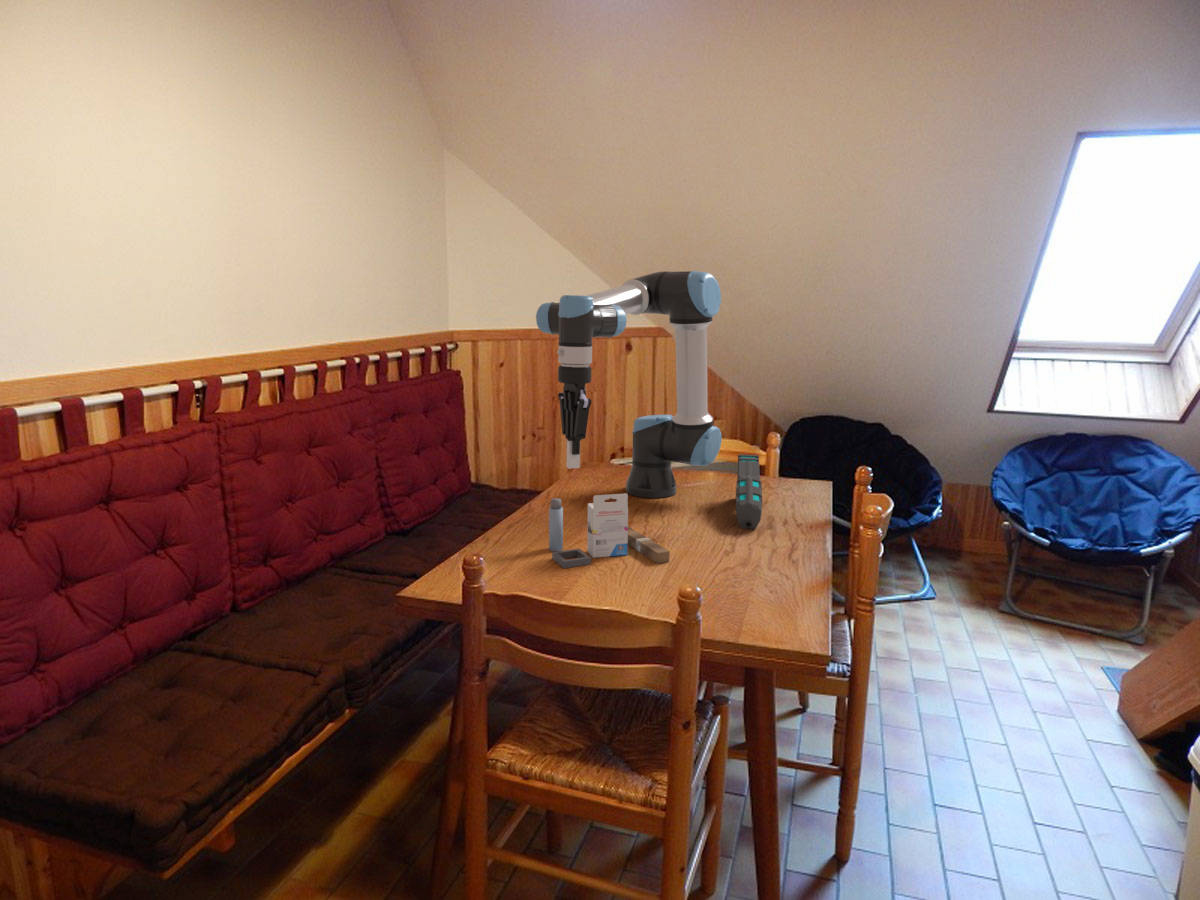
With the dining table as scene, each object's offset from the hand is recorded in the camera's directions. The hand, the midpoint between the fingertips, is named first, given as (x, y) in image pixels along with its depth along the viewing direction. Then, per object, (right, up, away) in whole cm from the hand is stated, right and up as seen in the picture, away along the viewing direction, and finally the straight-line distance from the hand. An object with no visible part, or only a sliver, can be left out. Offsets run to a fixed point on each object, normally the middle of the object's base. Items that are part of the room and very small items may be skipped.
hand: (573, 467), depth 177 cm
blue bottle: (-4, -19, +3) cm, 20 cm away
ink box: (+8, -20, 0) cm, 21 cm away
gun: (+46, -14, +33) cm, 59 cm away
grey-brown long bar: (+15, -19, +5) cm, 25 cm away
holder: (0, -21, -5) cm, 22 cm away
